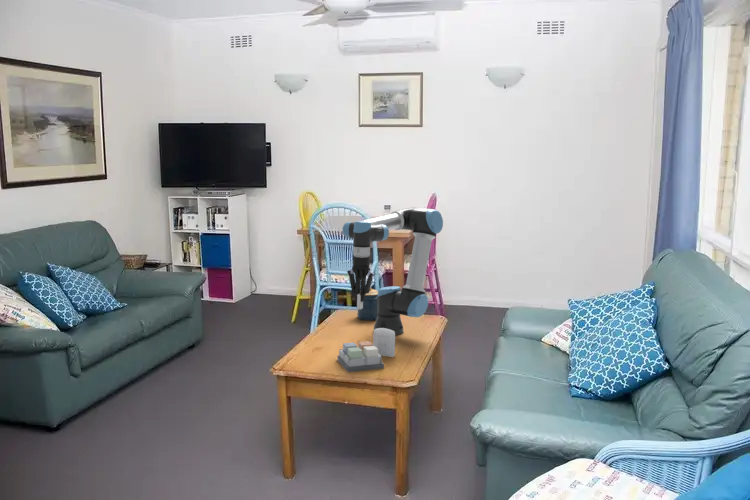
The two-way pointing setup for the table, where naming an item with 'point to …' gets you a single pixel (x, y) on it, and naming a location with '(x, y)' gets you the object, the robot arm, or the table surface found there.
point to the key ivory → (370, 351)
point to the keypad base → (360, 362)
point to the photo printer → (384, 341)
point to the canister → (369, 306)
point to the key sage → (354, 353)
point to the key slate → (348, 345)
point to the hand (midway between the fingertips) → (359, 308)
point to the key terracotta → (364, 344)
